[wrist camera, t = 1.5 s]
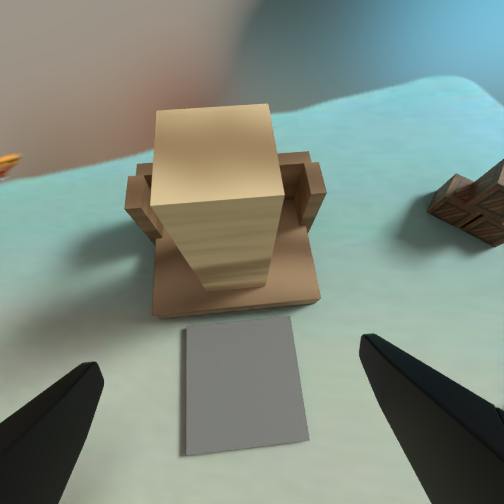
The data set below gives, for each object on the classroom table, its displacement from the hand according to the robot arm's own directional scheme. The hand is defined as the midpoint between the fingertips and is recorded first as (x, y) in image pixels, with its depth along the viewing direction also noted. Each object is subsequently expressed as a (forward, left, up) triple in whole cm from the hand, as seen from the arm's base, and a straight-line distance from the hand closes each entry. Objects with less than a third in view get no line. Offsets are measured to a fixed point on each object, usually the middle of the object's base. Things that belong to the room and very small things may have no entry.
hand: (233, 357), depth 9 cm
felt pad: (-1, -1, -14) cm, 14 cm away
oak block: (+4, +7, -12) cm, 14 cm away
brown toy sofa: (+4, +8, -14) cm, 17 cm away
